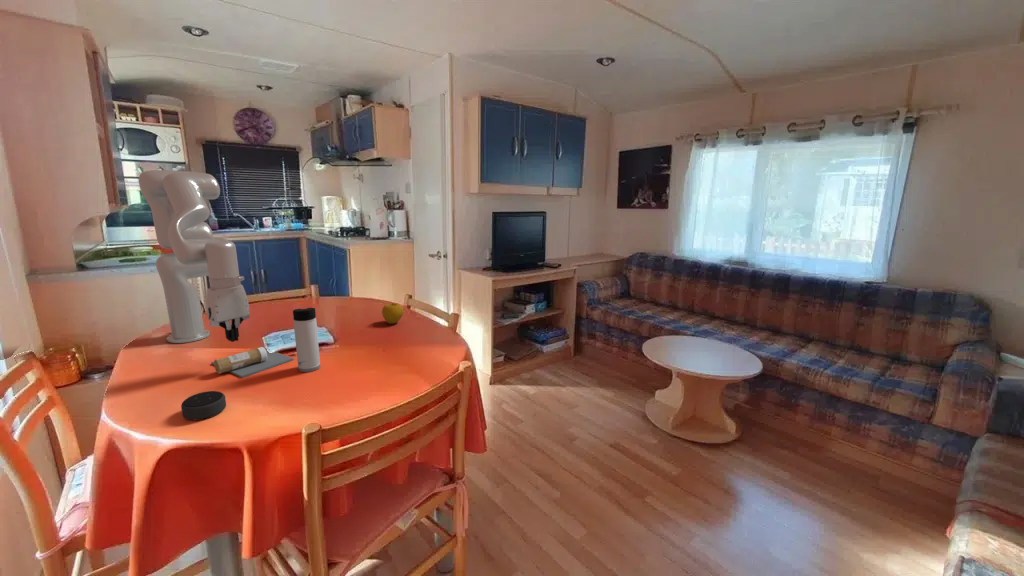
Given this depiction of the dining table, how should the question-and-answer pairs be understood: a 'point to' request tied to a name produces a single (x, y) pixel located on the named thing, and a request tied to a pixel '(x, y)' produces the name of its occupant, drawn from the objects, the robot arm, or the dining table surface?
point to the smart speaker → (203, 405)
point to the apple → (392, 312)
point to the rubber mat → (261, 364)
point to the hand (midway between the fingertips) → (233, 340)
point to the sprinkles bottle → (240, 360)
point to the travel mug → (306, 339)
